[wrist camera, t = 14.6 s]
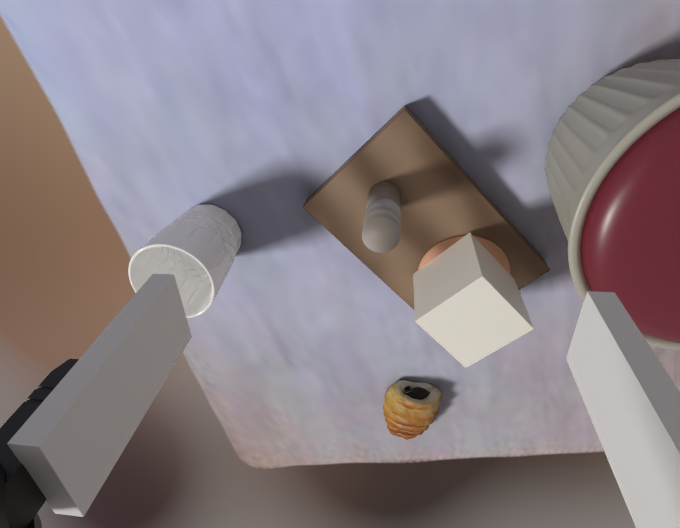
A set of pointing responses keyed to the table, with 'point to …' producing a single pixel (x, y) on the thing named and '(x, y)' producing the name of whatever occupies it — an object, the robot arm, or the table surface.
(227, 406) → the table surface
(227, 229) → the white cup
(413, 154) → the board
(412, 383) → the pastry
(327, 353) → the table surface
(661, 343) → the canister
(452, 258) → the matte off-white cube
